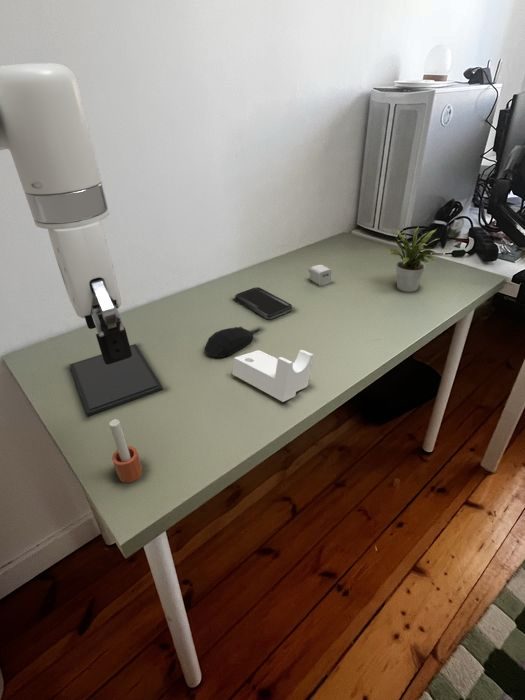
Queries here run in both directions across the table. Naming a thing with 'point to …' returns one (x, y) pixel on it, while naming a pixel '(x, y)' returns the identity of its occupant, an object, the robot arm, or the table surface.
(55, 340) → the table surface
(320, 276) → the usb wall charger
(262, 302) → the phone
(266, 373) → the bracket
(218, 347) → the gaming mouse
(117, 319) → the robot arm
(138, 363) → the tablet
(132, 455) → the pen holder
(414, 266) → the house plant
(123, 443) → the stylus
